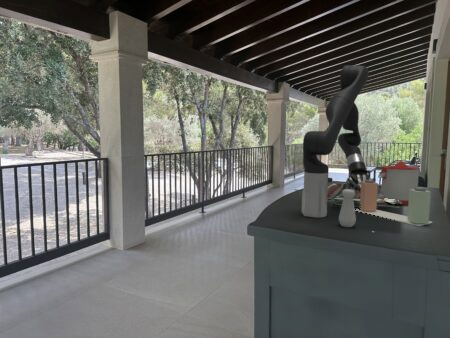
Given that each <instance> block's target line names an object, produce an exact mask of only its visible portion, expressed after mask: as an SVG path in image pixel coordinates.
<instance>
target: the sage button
mask: <svg viewBox="0 0 450 338" xmlns="http://www.w3.org/2000/svg"><path fill="white" fill-rule="evenodd" d="M431 194H432V192H431V191H429V190H427V188H425V187H418V188H415V189H410V190H409V204H408V205H407V206H408V208H407V216H408V218H407V220H409V221H411V222H413V223H424V224H426V225H429V221H430V210H431V196H432V195H431Z"/></svg>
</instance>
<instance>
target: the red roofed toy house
mask: <svg viewBox="0 0 450 338" xmlns="http://www.w3.org/2000/svg"><path fill="white" fill-rule="evenodd" d="M419 175H420V167H417V166H407V164H406V163H405V162H404V161H402V160H400V161H398V162H396V164H395V165H383V166H381V173H379V174H378V176H377V178H378V179H381V191H382V196H383V197H384V198H388V199H395V200H399V201H401V202H402V205H403V206H404V205H405V206H408V204H409V190H410V189H415V188H419ZM384 198H383V199H384Z"/></svg>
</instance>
